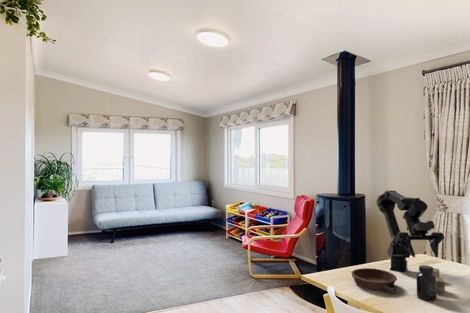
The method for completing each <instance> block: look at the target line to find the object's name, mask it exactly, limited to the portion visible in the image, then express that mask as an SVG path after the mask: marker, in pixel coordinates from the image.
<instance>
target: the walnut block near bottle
mask: <svg viewBox="0 0 470 313" xmlns="http://www.w3.org/2000/svg"><path fill="white" fill-rule="evenodd" d="M436 282H437V295H446V294H445V293H446V281H445V280H444V278H443V277H439V278H437V277H436Z"/></svg>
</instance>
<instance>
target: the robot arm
mask: <svg viewBox="0 0 470 313" xmlns="http://www.w3.org/2000/svg"><path fill="white" fill-rule="evenodd" d="M376 206H377V207H378V210H379V211H380V212H381V213H382V214H383V215H384V218H385V222H386V226H387V228H388V231H389V235H390V237H391V240H390V243H389V248H388V249H387V256H388V257H390V268H389V270H391V271H395V272H396V271H397V272H400V273H406V271H407V270H408V260H407V259H410V256H412V258H415V257H416V254H415V251H414V248H413V246H412V242H411V241H428V242H429V246H430V248H431V250H432V252H433V256H435V258H438V257H439V244H440V243H441V242H442V241H443V240H444V239H445V235H444V234H443V232H440V231H438V232H437V231H435V232H434V231H433V232H431V233H430V234H429V235H427V234H428V233H429V232H428V231H432V230H434V229H435V228H436V226H435V223H434V220H427V221H426V222H423V221H421V219H420V218H422V217H423V215H424V214H425V212H426V211H427V210H428V204H427V203H426V202H424V200H421V198H420V197H408V196H404V195H402V194H400V193H399V192H397V191H396V190H385V191H384V193H382V194H381V195H379V196H378V197H377V200H376ZM396 206H397V208H398V210H399V211H401V212H403V211H405V212H404V213H403V216H402V219H403V220H405V224H406V231H405V232H404V231H401V230H400V227H399V224H398V220H397V217H396V214H395V211H394V210H395V207H396ZM407 231H408V232H407Z"/></svg>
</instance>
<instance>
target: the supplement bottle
mask: <svg viewBox="0 0 470 313" xmlns="http://www.w3.org/2000/svg"><path fill="white" fill-rule="evenodd" d="M433 268H434V267H433V266H431V265H426V264H421V265H419V266H418V271H419V272H417V273H416V275H415V276H416V277H415V278H416V296H417V298H418V299H420V300H422V301H426V302H433V301H434V302H435V301H437V299H438V294H437V282H436V276H435V275H434V274H433Z"/></svg>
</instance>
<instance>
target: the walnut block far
mask: <svg viewBox="0 0 470 313" xmlns="http://www.w3.org/2000/svg"><path fill="white" fill-rule="evenodd" d="M433 274H434V275H435V276H436V277H437V278H440V268H435V267H433Z"/></svg>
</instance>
